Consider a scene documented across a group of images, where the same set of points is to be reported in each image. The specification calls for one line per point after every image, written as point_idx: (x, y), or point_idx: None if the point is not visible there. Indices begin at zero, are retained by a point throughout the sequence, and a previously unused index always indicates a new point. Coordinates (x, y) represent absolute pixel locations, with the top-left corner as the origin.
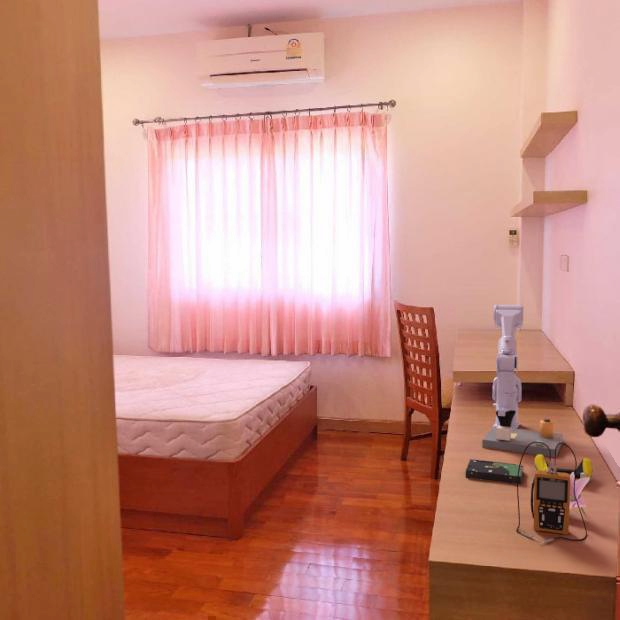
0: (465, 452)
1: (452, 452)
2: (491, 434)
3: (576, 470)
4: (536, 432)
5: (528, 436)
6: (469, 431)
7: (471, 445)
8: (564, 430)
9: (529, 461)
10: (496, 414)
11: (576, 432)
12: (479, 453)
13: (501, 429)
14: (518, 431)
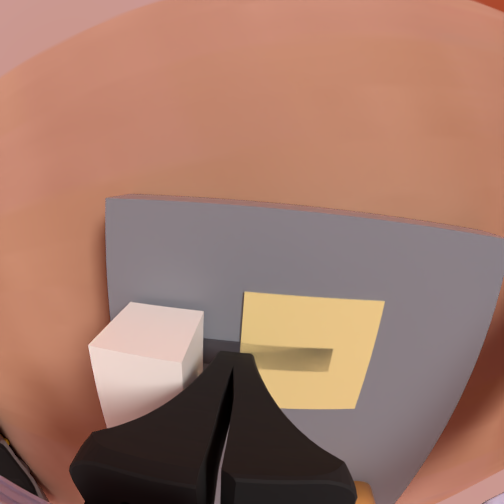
0: (21, 133)
1: (10, 81)
2: (284, 245)
3: (23, 485)
4: (403, 461)
5: None
6: (461, 76)
7: (143, 118)
8: (501, 454)
9: (59, 412)
10: (88, 439)
11: (478, 479)
12: (29, 204)
13: (100, 381)
14: (414, 398)
